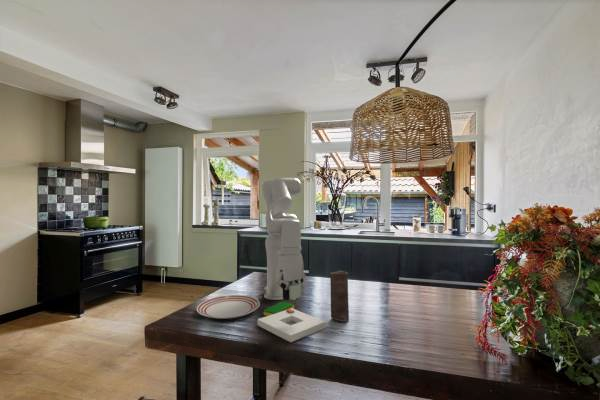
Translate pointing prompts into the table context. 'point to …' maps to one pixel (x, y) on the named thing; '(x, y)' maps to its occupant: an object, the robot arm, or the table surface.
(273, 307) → the dish sponge
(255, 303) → the dinner plate
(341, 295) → the candle
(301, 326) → the socket
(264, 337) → the table surface
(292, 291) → the plug
